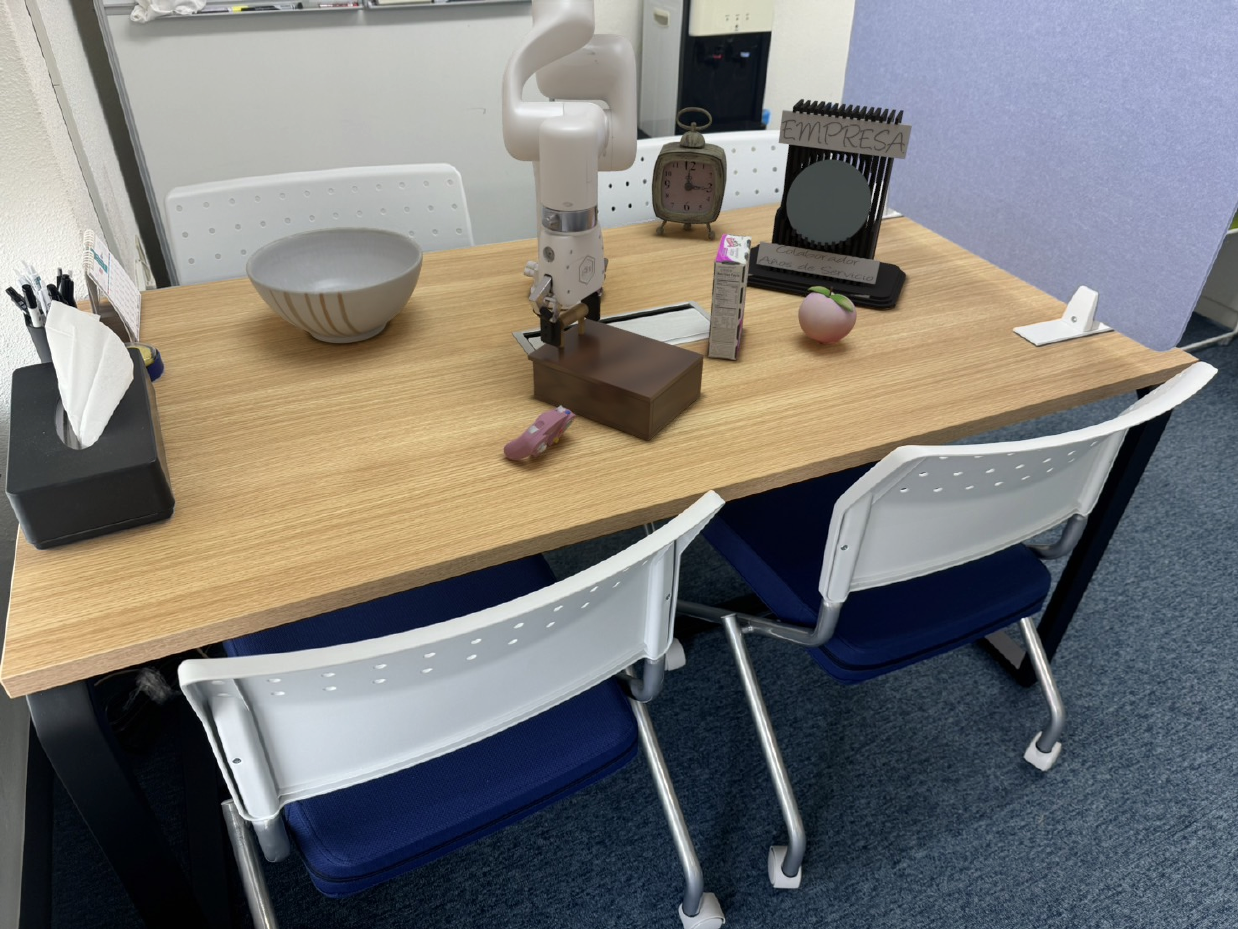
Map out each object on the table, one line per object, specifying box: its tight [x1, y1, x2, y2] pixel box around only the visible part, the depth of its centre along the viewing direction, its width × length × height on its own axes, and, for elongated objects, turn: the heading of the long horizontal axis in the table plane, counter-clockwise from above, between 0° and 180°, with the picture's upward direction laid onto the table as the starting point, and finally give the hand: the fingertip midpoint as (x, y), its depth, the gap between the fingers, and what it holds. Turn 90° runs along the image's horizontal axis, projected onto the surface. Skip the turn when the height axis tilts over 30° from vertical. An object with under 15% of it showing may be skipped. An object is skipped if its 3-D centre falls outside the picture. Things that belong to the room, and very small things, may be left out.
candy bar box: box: [707, 233, 753, 361], centre depth 136 cm, size 11×5×16 cm, turn 168°
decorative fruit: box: [797, 286, 858, 345], centre depth 138 cm, size 9×8×10 cm
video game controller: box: [503, 406, 577, 461], centre depth 114 cm, size 10×5×7 cm, turn 147°
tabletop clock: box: [651, 106, 728, 240], centre depth 174 cm, size 14×9×25 cm, turn 80°
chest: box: [532, 359, 704, 442], centre depth 125 cm, size 20×15×6 cm
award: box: [747, 98, 913, 310], centre depth 154 cm, size 30×19×30 cm, turn 67°
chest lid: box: [527, 303, 705, 403], centre depth 122 cm, size 20×15×6 cm
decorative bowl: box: [245, 226, 424, 344], centre depth 140 cm, size 27×27×12 cm
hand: (571, 331), depth 125 cm, fingers open, 9 cm apart
